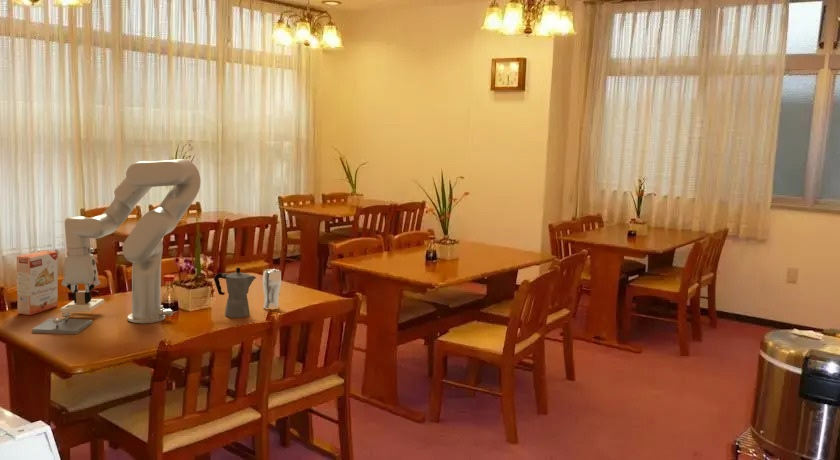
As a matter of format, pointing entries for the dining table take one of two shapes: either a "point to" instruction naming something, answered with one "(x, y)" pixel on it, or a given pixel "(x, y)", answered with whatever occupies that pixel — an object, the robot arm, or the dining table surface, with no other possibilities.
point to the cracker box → (37, 282)
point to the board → (62, 326)
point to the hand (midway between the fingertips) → (82, 302)
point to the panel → (81, 304)
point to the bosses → (61, 319)
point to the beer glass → (271, 287)
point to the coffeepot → (236, 292)
